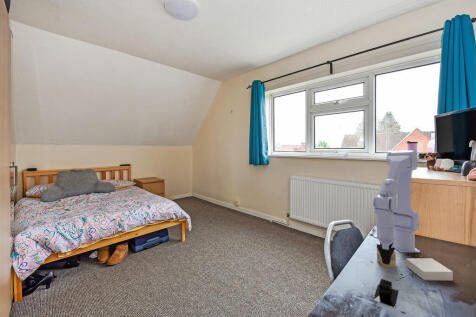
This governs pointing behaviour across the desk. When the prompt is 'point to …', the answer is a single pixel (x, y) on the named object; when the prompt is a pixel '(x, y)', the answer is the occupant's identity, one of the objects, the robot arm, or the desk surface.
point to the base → (429, 269)
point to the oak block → (392, 261)
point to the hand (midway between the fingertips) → (386, 259)
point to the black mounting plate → (386, 293)
